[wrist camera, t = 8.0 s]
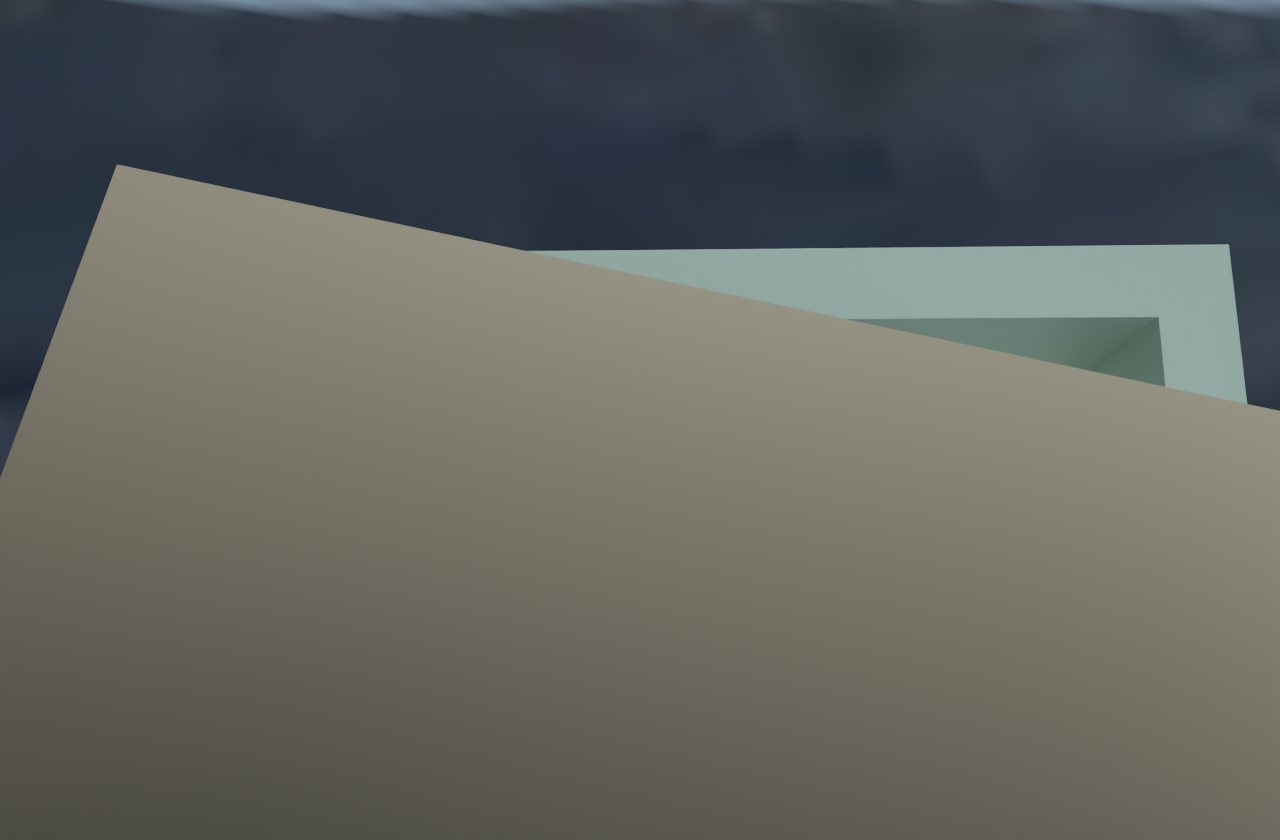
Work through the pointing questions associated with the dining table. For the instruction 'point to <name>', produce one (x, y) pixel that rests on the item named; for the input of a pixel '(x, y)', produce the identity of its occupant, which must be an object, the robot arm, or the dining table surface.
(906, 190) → the dining table surface
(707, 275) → the box
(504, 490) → the birch post
